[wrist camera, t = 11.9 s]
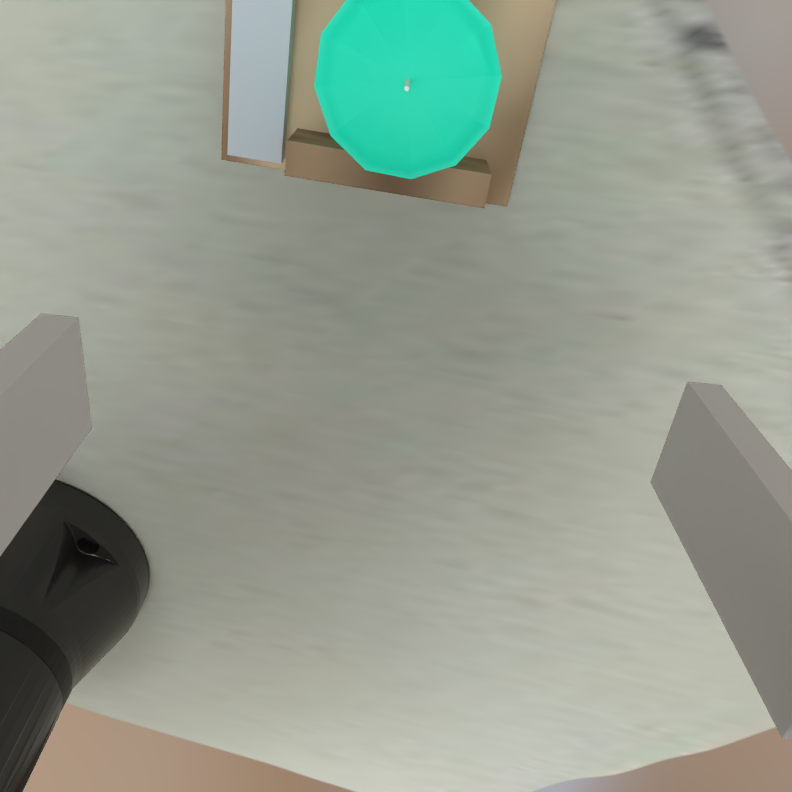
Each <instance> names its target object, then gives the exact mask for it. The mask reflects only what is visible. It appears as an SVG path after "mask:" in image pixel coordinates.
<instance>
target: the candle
mask: <svg viewBox="0 0 792 792" xmlns="http://www.w3.org/2000/svg"><path fill="white" fill-rule="evenodd" d="M501 78H502V74H501V69H500V65H499V60H498V55H497V50H496V45H495V41H494V36H493V31H492V26H491V24H490V22H489V21H488V20H487V19H486V18H485V17H484V16H483V15H482V14H481V13H480V12H479V11H478V10H477V8H476V7H475V6H474V5H473V4H472V3H471V2H470V1H469V0H346V1H345V2H344V4H343V5H342V6H341V8H340V9H339V10H338V12H337V13H336V14H335V16H334V17H333V18H332V19H331V21H330V22H329V23H328V25H327V26H326V27H325V29H324V30H323V31H322V33H321V38H320V45H319V53H318V60H317V68H316V75H315V83H314V88H315V91H316V94H317V97H318V100H319V103H320V106H321V109H322V112H323V115H324V118H325V121H326V124H327V127H328V130H329V133H330V136H331V137H332V138H333V139H334V140H335V141H336V142H337V143H338V144H339V145H340V146H341V147H342V148H343V149H344V150H346V151H347V152H348V153H349V154H350V155H351V156H352V157H353V158H354V159H355V160H356V161H357V162H358V163H359V164H360V165H361V166H362V167H363V168H364V169H365V170H367V171H372V172H377V173H382V174H387V175H392V176H397V177H402V178H407V179H414V178H417V177H420V176H423V175H427V174H430V173H433V172H436V171H440V170H443V169H446V168H449V167H452V166H456V165H457V164H458V162H459V161H460V160H461V159H462V158H463V157H464V156H465V155H466V154H467V153H468V151H469V150H470V149H471V148H472V147H473V146H474V145H475V144H476V143H477V142H478V140H479V139H480V138H481V137H482V136H483V135H484V134H485V133H486V132H487V131H488V130H489V128H490V124H491V120H492V116H493V111H494V107H495V103H496V99H497V95H498V91H499V86H500V82H501Z"/></svg>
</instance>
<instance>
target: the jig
mask: <svg viewBox="0 0 792 792" xmlns="http://www.w3.org/2000/svg"><path fill="white" fill-rule="evenodd" d="M345 1H346V0H296V8H295V22H294V36H293V49H292V63H291V77H290V91H289V104H288V118H287V132H286V146H285V159H284V160H283V162H282V163H281V164H280V163H274V162H268V161H262V160H256V159H249V158H243V157H237V156H231V155H227V150H228V119H229V89H230V58H231V27H232V0H226V17H225V52H224V87H223V122H222V157H221V159H222V160H228V161H234V162H240V163H246V164H252V165H258V166H264V167H270V168H276V169H282V170H285V176H291V177H297V178H303V179H309V180H315V181H321V182H328V183H334V184H340V185H346V186H352V187H358V188H364V189H370V190H376V191H382V192H388V193H394V194H401V195H407V196H413V197H419V198H425V199H431V200H437V201H443V202H449V203H455V204H461V205H468V206H474V207H480V208H485V203H489V204H495V205H501V206H507V205H508V201H509V196H510V192H511V188H512V184H513V179H514V175H515V171H516V167H517V163H518V158H519V154H520V150H521V146H522V141H523V137H524V133H525V129H526V124H527V120H528V116H529V112H530V108H531V103H532V99H533V95H534V91H535V86H536V82H537V78H538V74H539V70H540V65H541V61H542V57H543V53H544V48H545V44H546V40H547V36H548V32H549V27H550V23H551V19H552V15H553V10H554V6H555V2H556V0H469V1H470V2H471V3H472V4H473V5H474V6H475V7H476V8H477V10H478V11H479V12H480V13H481V14H482V15H483V16H484V17H485V18H486V19H487V20H488V21H489V22H490V24H491V26H492V31H493V36H494V41H495V45H496V50H497V55H498V60H499V65H500V69H501V74H502V78H501V82H500V86H499V91H498V95H497V99H496V103H495V107H494V111H493V116H492V120H491V124H490V128H489V130H488V131H487V132H486V133H485V134H484V135H483V136H482V137H481V138H480V139H479V140H478V142H477V143H476V144H475V145H474V146H473V147H472V148H471V149H470V150H469V151H468V153H467V154H466V155H465V156H464V157H463V158H462V159H461V160H460V161H459V162H458V164H457V165H456V166H452V167H449V168H446V169H443V170H440V171H436V172H433V173H430V174H427V175H423V176H420V177H417V178H414V179H407V178H402V177H397V176H392V175H387V174H382V173H377V172H372V171H367V170H365V169H364V168H363V167H362V166H361V165H360V164H359V163H358V162H357V161H356V160H355V159H354V158H353V157H352V156H351V155H350V154H349V153H348V152H347V151H346V150H344V149H343V148H342V147H341V146H340V145H339V144H338V143H337V142H336V141H335V140H334V139H333V138H332V137H331V136H330V133H329V130H328V127H327V124H326V121H325V118H324V115H323V112H322V109H321V106H320V103H319V100H318V97H317V94H316V91H315V88H314V83H315V75H316V68H317V60H318V53H319V45H320V38H321V33H322V31H323V30H324V29H325V27H326V26H327V25H328V23H329V22H330V21H331V19H332V18H333V17H334V16H335V14H336V13H337V12H338V10H339V9H340V8H341V6H342V5H343V4H344V2H345Z"/></svg>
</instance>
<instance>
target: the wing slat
mask: <svg viewBox="0 0 792 792" xmlns="http://www.w3.org/2000/svg"><path fill="white" fill-rule="evenodd" d="M295 8H296V0H232V27H231V58H230V89H229V119H228V150H227V155H231V156H237V157H243V158H249V159H256V160H262V161H268V162H274V163H280V164H281V163H282V162H283V160H284V159H285V146H286V132H287V118H288V104H289V91H290V77H291V63H292V49H293V36H294V22H295Z"/></svg>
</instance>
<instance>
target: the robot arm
mask: <svg viewBox="0 0 792 792" xmlns="http://www.w3.org/2000/svg"><path fill="white" fill-rule="evenodd" d="M91 428H92V425H91V417H90V408H89V400H88V392H87V383H86V375H85V367H84V358H83V350H82V342H81V333H80V325H79V317H70V316H61V315H51V314H42V313H41V314H40V315H39V316H38V317H37V318H36V319H35V320H33V321H32V322H31V323H30V324H29V325H28V326H27V327H25V328H24V329H23V330H22V331H21V332H20V333H19V334H18V335H16V336H15V337H14V338H13V339H12V340H11V341H10V342H9V343H7V344H6V345H5V346H4V347H3V348H2V349H1V350H0V792H23V789H24V787H25V785H26V783H27V781H28V779H29V777H30V775H31V773H32V771H33V769H34V766H35V765H36V762H37V760H38V758H39V756H40V754H41V752H42V750H43V748H44V746H45V744H46V742H47V740H48V738H49V735H50V734H51V731H52V730H53V727H54V725H55V723H56V721H57V719H58V717H59V715H60V712H61V710H62V708H63V706H64V704H65V702H66V700H67V698H68V697H69V695H70V693H71V691H72V689H73V687H74V686H75V685H76V684H77V683H78V682H79V681H80V680H81V679H82V678H83V677H84V676H85V675H86V674H87V673H88V672H89V671H90V670H91V669H92V668H93V667H94V666H95V665H96V664H97V663H98V662H99V661H100V660H101V659H102V658H103V657H104V656H105V655H106V654H107V653H108V652H109V651H110V650H111V649H112V648H113V646H114V645H115V644H116V643H117V642H118V641H119V640H120V639H121V638H122V637H123V636H124V635H125V634H126V633H127V632H128V630H129V629H130V627H131V626H132V624H133V623H134V621H135V619H136V617H137V614H138V612H139V610H140V608H141V606H142V603H143V601H144V599H145V596H146V594H147V590H148V584H149V570H148V565H147V561H146V558H145V555H144V552H143V550H142V548H141V546H140V544H139V543H138V541H137V539H136V538H135V536H134V535H133V533H132V532H131V531H130V530H129V528H128V527H127V526H126V525H125V524H124V523H123V522H122V521H121V520H120V519H119V518H118V517H117V516H116V515H115V514H114V513H113V512H111V511H110V510H109V509H108V508H106V507H105V506H104V505H102V504H101V503H99V502H98V501H96V500H95V499H93V498H91V497H90V496H88V495H86V494H84V493H82V492H80V491H78V490H76V489H74V488H72V487H69V486H67V485H64V484H61V483H58V482H55V481H54V480H55V479H56V477H57V476H58V475H59V473H60V472H61V470H62V469H63V468H64V466H65V465H66V463H67V462H68V461H69V459H70V458H71V456H72V455H73V454H74V452H75V451H76V449H77V448H78V447H79V445H80V444H81V442H82V441H83V440H84V438H85V437H86V435H87V434H88V433H89V431H90V430H91ZM651 484H652V486H653V488H654V490H655V492H656V494H657V496H658V498H659V500H660V501H661V503H662V505H663V507H664V509H665V511H666V513H667V515H668V517H669V519H670V521H671V523H672V525H673V527H674V529H675V531H676V533H677V535H678V536H679V538H680V540H681V542H682V544H683V546H684V548H685V550H686V552H687V554H688V556H689V558H690V560H691V562H692V564H693V566H694V568H695V570H696V571H697V573H698V575H699V577H700V579H701V581H702V583H703V585H704V587H705V589H706V591H707V593H708V595H709V597H710V599H711V601H712V603H713V605H714V607H715V608H716V610H717V612H718V614H719V616H720V618H721V620H722V622H723V624H724V626H725V628H726V630H727V632H728V634H729V636H730V638H731V640H732V642H733V643H734V645H735V647H736V649H737V651H738V653H739V655H740V657H741V659H742V661H743V663H744V665H745V667H746V669H747V671H748V673H749V675H750V677H751V678H752V680H753V682H754V684H755V686H756V688H757V690H758V692H759V694H760V696H761V698H762V700H763V702H764V704H765V706H766V708H767V710H768V712H769V714H770V715H771V717H772V719H773V721H774V723H775V725H776V727H777V729H778V731H779V733H780V735H781V737H782V738H787V739H792V470H791V469H790V468H789V467H788V465H787V464H786V463H785V462H784V461H783V459H782V458H781V457H780V456H779V454H778V453H777V452H776V451H775V450H774V448H773V447H772V446H771V445H770V444H769V442H768V441H767V440H766V439H765V437H764V436H763V435H762V434H761V433H760V431H759V430H758V429H757V428H756V427H755V425H754V424H753V423H752V422H751V420H750V419H749V418H748V417H747V416H746V414H745V413H744V412H743V411H742V410H741V408H740V407H739V406H738V405H737V403H736V402H735V401H734V400H733V399H732V397H731V396H730V395H729V394H728V393H727V391H726V390H725V389H724V388H723V386H722V385H716V384H707V383H697V382H688V381H687V384H686V387H685V390H684V392H683V395H682V398H681V401H680V403H679V406H678V409H677V412H676V414H675V417H674V420H673V422H672V425H671V428H670V431H669V433H668V436H667V439H666V442H665V444H664V447H663V450H662V453H661V455H660V458H659V461H658V464H657V466H656V469H655V472H654V474H653V477H652V480H651Z"/></svg>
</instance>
